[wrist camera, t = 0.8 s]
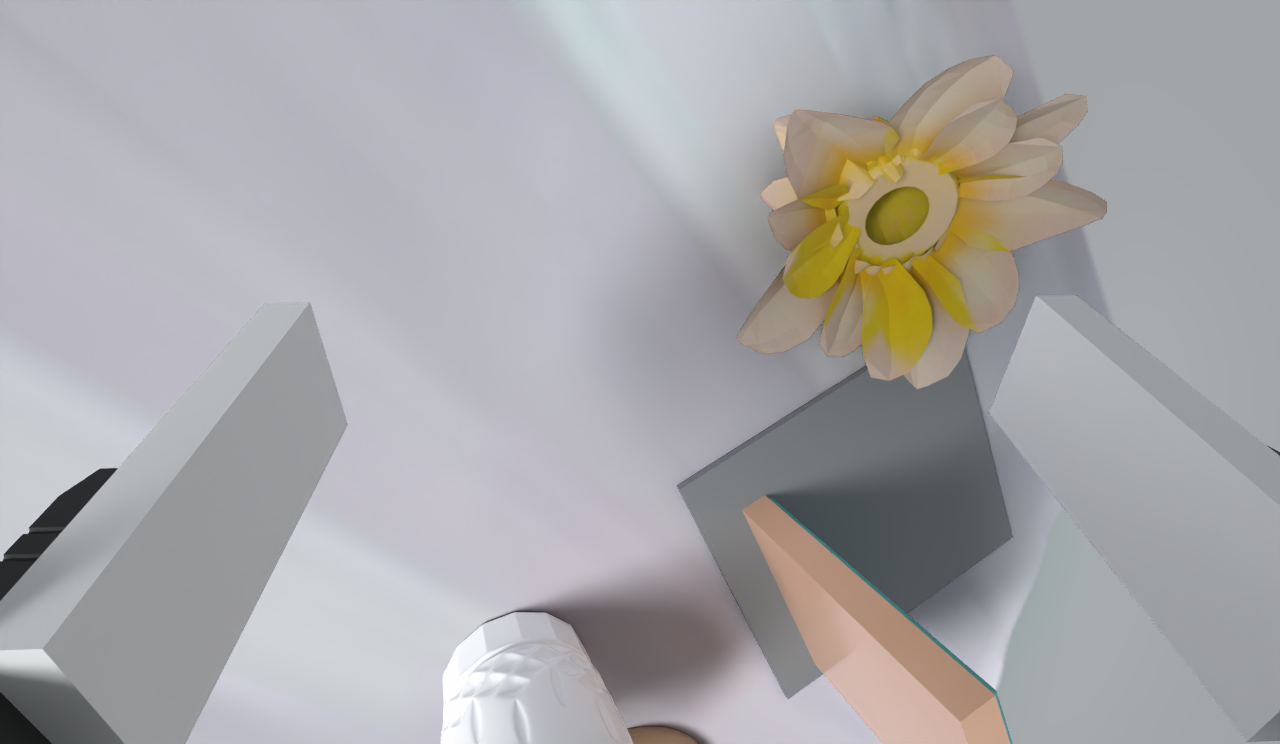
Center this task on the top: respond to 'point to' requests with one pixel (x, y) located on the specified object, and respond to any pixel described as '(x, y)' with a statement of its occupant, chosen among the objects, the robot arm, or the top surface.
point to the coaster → (659, 736)
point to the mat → (857, 498)
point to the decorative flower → (914, 221)
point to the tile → (873, 644)
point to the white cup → (527, 687)
